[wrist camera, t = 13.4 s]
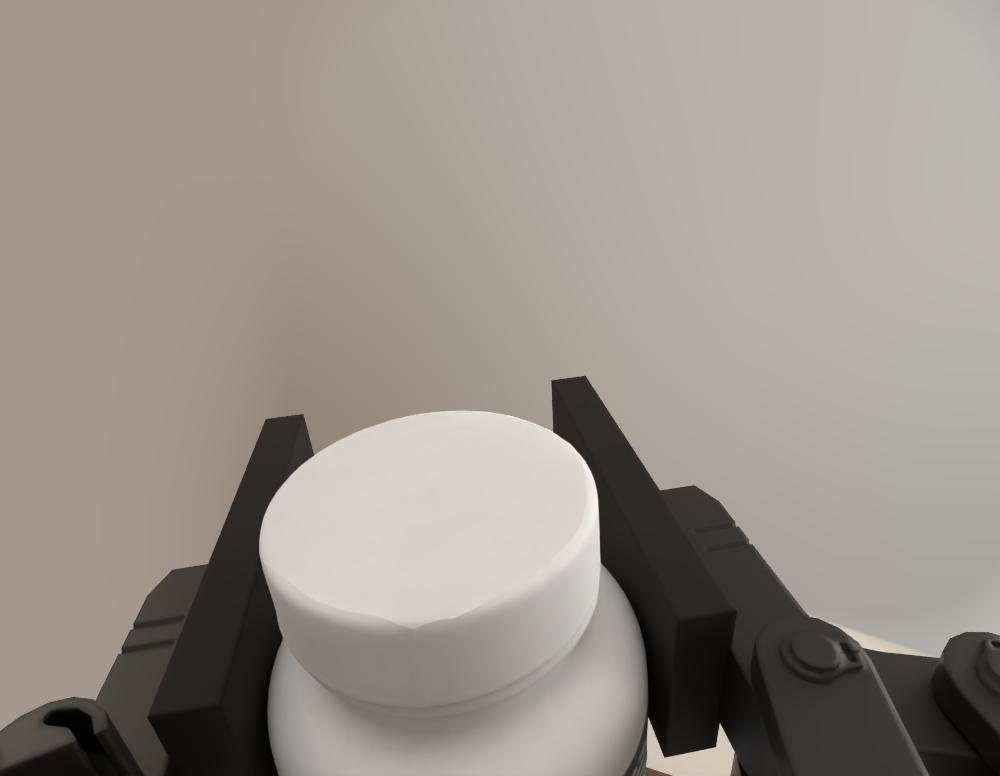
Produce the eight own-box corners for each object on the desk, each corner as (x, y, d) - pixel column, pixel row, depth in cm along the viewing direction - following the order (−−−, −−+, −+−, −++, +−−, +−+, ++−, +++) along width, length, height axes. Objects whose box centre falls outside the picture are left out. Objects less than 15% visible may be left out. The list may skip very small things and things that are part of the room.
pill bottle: (550, 695, 14) (534, 358, 10) (699, 951, 10) (775, 546, 6) (328, 799, 12) (199, 444, 8) (391, 1168, 8) (191, 805, 4)
